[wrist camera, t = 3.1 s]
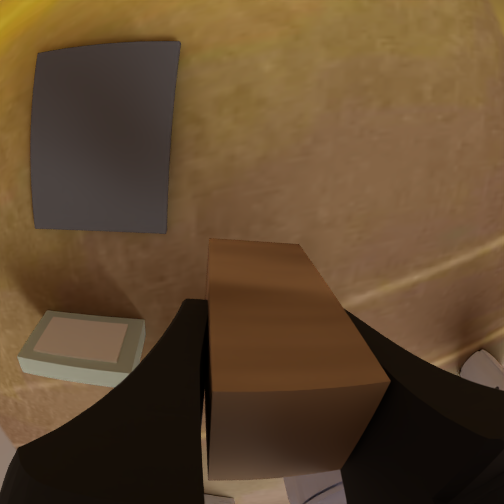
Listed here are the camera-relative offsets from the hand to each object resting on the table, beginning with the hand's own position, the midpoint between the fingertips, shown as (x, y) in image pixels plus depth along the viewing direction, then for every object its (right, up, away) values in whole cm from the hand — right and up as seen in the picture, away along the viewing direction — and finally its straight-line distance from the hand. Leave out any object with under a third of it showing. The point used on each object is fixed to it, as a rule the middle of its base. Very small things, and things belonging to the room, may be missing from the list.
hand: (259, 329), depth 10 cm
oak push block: (0, +1, +2) cm, 3 cm away
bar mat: (-8, +8, +5) cm, 13 cm away
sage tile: (-10, -2, +9) cm, 14 cm away
